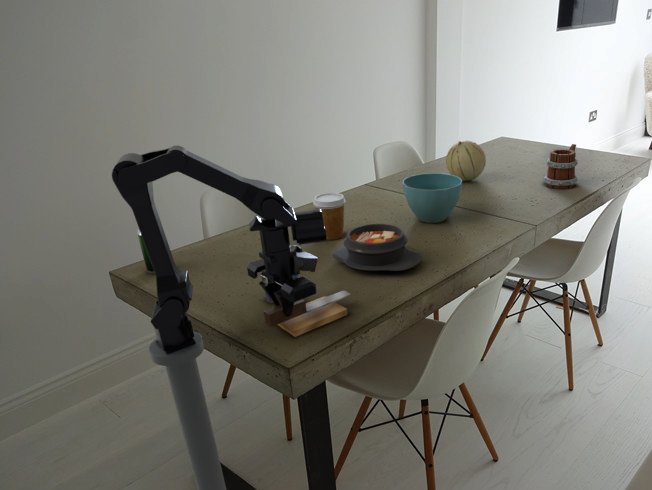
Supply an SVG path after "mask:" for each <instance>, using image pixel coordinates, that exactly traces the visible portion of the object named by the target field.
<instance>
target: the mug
mask: <svg viewBox="0 0 652 490" xmlns="http://www.w3.org/2000/svg"><path fill="white" fill-rule="evenodd" d="M576 148H577V144H575V143H572V144H571V145H570V147H569V148H568V149H567V148H557V149H552V150H550V151H549V157H548V158H547V160H546V165H547V172H546V174H545V175H544V178H543V181H544V182H545V183H544V185H545V186H546V187H548V188H553V189H557V190H558V189H559V190H561V189H562V190H564V189H572V188H573V187H575V186H576V183H577V182H578V176H576V167H577V166H578V164H579V163H578V160H577V157H576V156H577V155H576V153H577V152H576Z"/></svg>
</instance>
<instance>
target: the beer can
mask: <svg viewBox="0 0 652 490" xmlns="http://www.w3.org/2000/svg"><path fill="white" fill-rule="evenodd" d="M136 231H137V238H138V241H139V247H140V250H141V254H142V257H143V262H144V265H145V269H146V271H147V272H148V274H154V275H155V272H154V269H153V266H152V264H151V261H150V258H149V255H148V252H147V250H146V247H145V244H144V241H143V238H142V236H141V233H140V230H139V227H138V228H137V230H136Z"/></svg>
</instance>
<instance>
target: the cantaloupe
mask: <svg viewBox="0 0 652 490" xmlns="http://www.w3.org/2000/svg"><path fill="white" fill-rule="evenodd" d="M445 164H446V168H447V170H448V172H449V174H450V175H454V176H457V177H459V178H460V179H461V180H462V182H467V181H471V180H475V179H477V178H479V176H481V174H482V173H483V172H484V169H485V168H486V164H487V159H486V154H485V151H484V149H483V148H482V147H481V146H480V145H479V144H478V143H477V142H475V141H473V140H468V139H467V140H459V141H458V142H456V143H454V144H453V145H452V146H450V148H449V150H448V151H447V153H446V157H445Z"/></svg>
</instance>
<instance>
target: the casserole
mask: <svg viewBox="0 0 652 490" xmlns="http://www.w3.org/2000/svg"><path fill="white" fill-rule="evenodd" d="M408 240H409V239H408V236H407V235H406V234H405V231H404V230H403V229H402V228H401V227H399V226H397V225H393V224H388V223H370V224H365V225H363V224H362V225H360V226H357V227H354V228H352V229H350V230H349V231H348V232H347V234H346V238H345V239H344V240H343V245H342V246H340V247H338V248H337V249H336V250H334V251H333V253H332V255H331V256H332V258H333V259H335V260H338V261H340V262H341V263H343V264H344V265H346V266H347V267H349V268H352V269H355V270H360V271H365V272H367V271H369V272H377V271H378V272H379V271H390V272H403V271H406V270H409V269H411V268H415V266H417V265H418V264H420V262H421V261H422V259H423V256H422V254H421V253H419V252H417V251H414V250H411V249H409V248H407V247H406V245H407V243H408Z"/></svg>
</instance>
